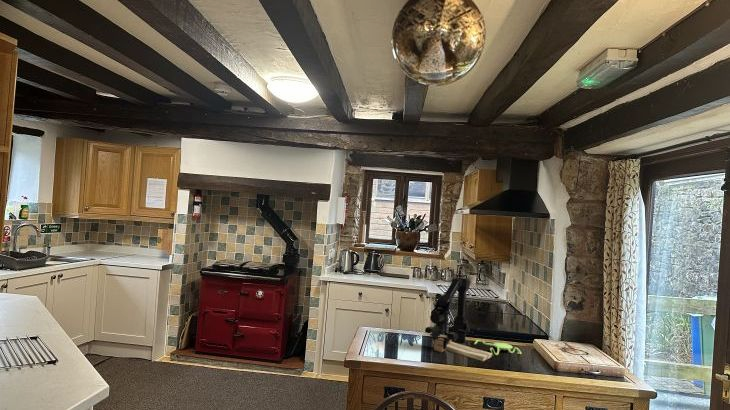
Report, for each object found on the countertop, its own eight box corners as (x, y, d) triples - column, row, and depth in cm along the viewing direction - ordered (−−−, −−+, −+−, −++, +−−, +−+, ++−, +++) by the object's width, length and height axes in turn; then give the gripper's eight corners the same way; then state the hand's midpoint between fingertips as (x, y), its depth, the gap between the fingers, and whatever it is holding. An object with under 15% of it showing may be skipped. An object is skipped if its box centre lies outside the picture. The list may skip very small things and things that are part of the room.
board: (447, 344, 284) (447, 340, 284) (491, 356, 267) (492, 353, 267) (437, 347, 275) (438, 344, 275) (482, 361, 257) (483, 357, 257)
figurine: (469, 347, 283) (470, 338, 283) (504, 345, 293) (504, 337, 293) (489, 357, 266) (490, 348, 266) (524, 355, 277) (525, 346, 277)
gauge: (446, 345, 282) (447, 335, 282) (454, 347, 279) (455, 337, 279) (433, 350, 270) (434, 339, 270) (440, 352, 266) (441, 341, 266)
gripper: (421, 319, 270) (418, 346, 270) (450, 326, 259) (447, 355, 259) (431, 316, 279) (428, 342, 279) (459, 323, 267) (457, 351, 267)
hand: (440, 347), depth 271 cm, fingers closed on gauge, 5 cm apart
